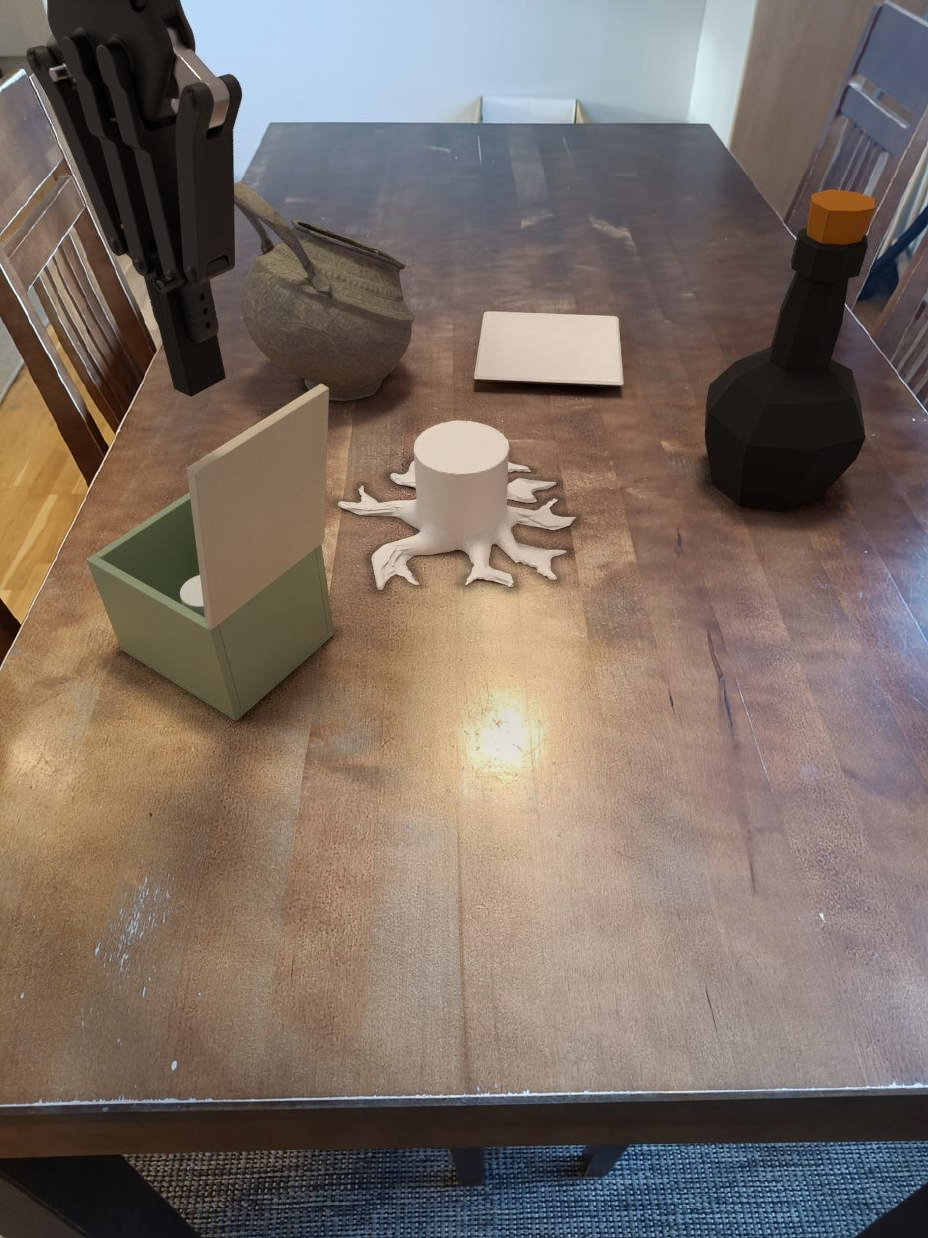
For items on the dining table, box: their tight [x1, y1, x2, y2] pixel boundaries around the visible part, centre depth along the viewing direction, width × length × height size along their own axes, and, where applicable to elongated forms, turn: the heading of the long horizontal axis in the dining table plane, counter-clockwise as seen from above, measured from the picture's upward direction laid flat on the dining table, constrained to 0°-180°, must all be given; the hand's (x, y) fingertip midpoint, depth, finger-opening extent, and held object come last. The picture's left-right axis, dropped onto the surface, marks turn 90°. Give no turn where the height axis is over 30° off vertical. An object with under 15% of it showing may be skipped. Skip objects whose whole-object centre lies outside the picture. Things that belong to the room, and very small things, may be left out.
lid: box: [186, 384, 330, 628], centre depth 65 cm, size 15×13×1 cm
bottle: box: [704, 188, 876, 513], centre depth 89 cm, size 16×16×30 cm
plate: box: [473, 310, 625, 388], centre depth 119 cm, size 19×19×2 cm
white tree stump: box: [337, 420, 577, 591], centre depth 92 cm, size 23×25×9 cm
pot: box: [234, 180, 416, 402], centre depth 106 cm, size 21×21×25 cm
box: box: [86, 491, 335, 722], centre depth 78 cm, size 15×13×11 cm
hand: (200, 383), depth 53 cm, fingers closed
